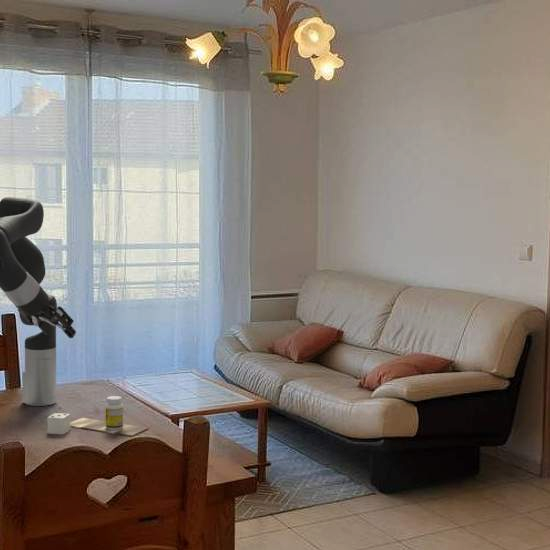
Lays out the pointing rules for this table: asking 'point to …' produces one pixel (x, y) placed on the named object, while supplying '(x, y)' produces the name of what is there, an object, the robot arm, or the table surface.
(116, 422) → the supplement bottle
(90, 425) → the track
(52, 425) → the die
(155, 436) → the table surface
